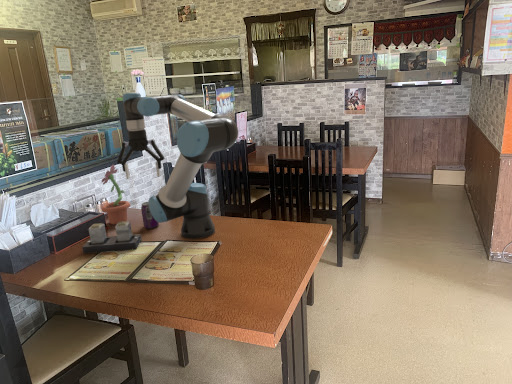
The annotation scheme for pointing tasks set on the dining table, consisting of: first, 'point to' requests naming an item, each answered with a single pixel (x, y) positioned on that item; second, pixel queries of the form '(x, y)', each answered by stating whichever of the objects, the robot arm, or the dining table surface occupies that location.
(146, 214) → the beverage can
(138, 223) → the dining table surface
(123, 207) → the decorative flower
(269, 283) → the dining table surface
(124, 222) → the block
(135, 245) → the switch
